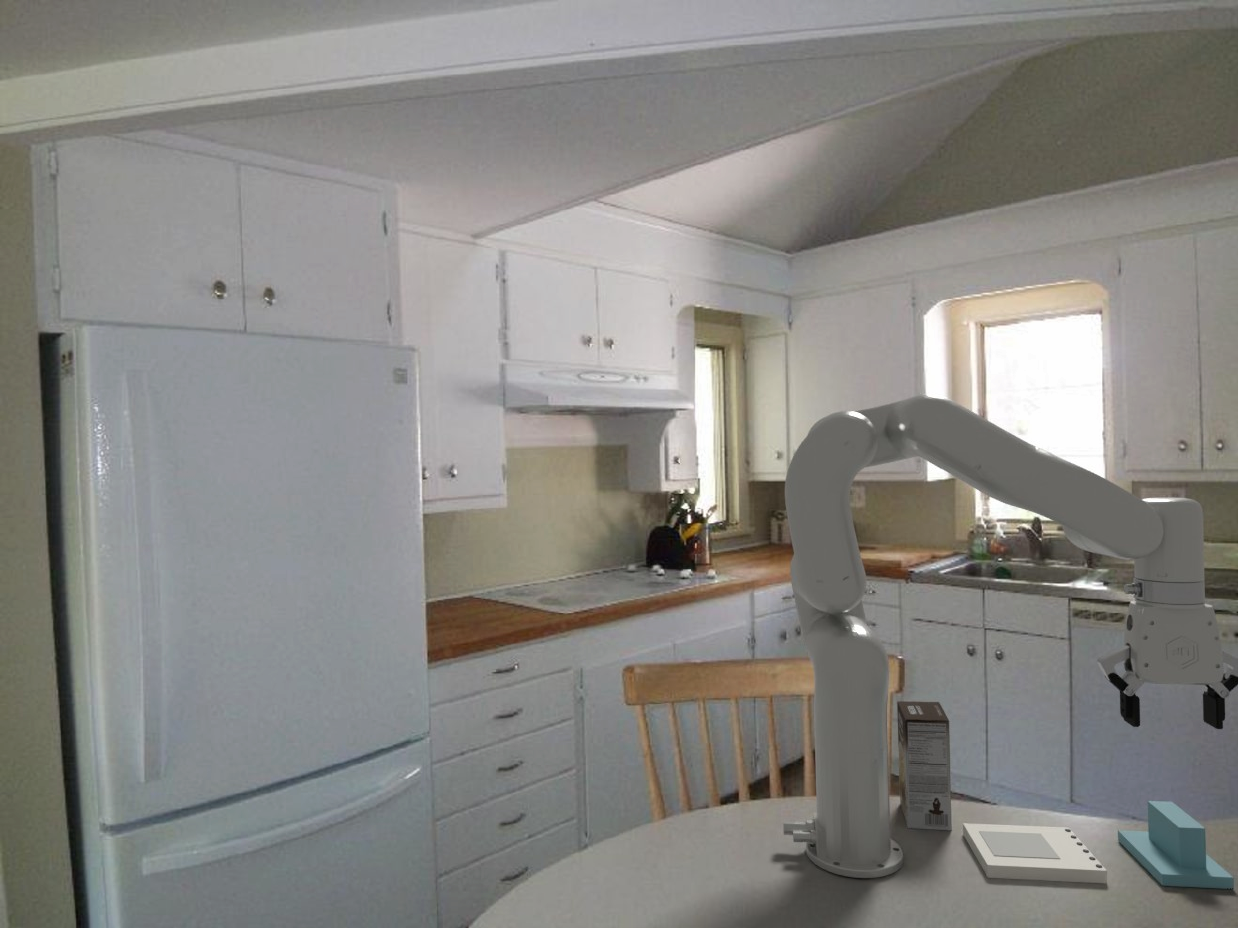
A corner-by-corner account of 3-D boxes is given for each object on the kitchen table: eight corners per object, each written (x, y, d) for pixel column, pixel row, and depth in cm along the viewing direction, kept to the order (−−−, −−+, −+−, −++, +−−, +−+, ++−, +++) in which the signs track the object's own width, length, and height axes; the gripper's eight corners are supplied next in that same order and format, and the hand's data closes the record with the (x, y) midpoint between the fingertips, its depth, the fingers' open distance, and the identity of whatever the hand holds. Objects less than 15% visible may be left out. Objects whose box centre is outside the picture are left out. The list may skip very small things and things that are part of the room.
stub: (1162, 885, 100) (1160, 833, 100) (1118, 840, 111) (1116, 793, 112) (1234, 888, 98) (1232, 836, 98) (1181, 842, 110) (1180, 796, 110)
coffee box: (898, 802, 126) (895, 699, 126) (942, 805, 125) (939, 700, 125) (907, 829, 117) (904, 717, 117) (954, 831, 116) (951, 719, 116)
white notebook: (988, 877, 103) (987, 863, 103) (963, 834, 115) (962, 822, 115) (1107, 883, 101) (1106, 869, 101) (1069, 838, 112) (1068, 826, 112)
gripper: (1109, 597, 103) (1112, 732, 103) (1261, 598, 100) (1264, 736, 100) (1085, 588, 110) (1088, 714, 110) (1225, 588, 107) (1228, 717, 107)
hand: (1172, 724), depth 105 cm, fingers open, 9 cm apart
